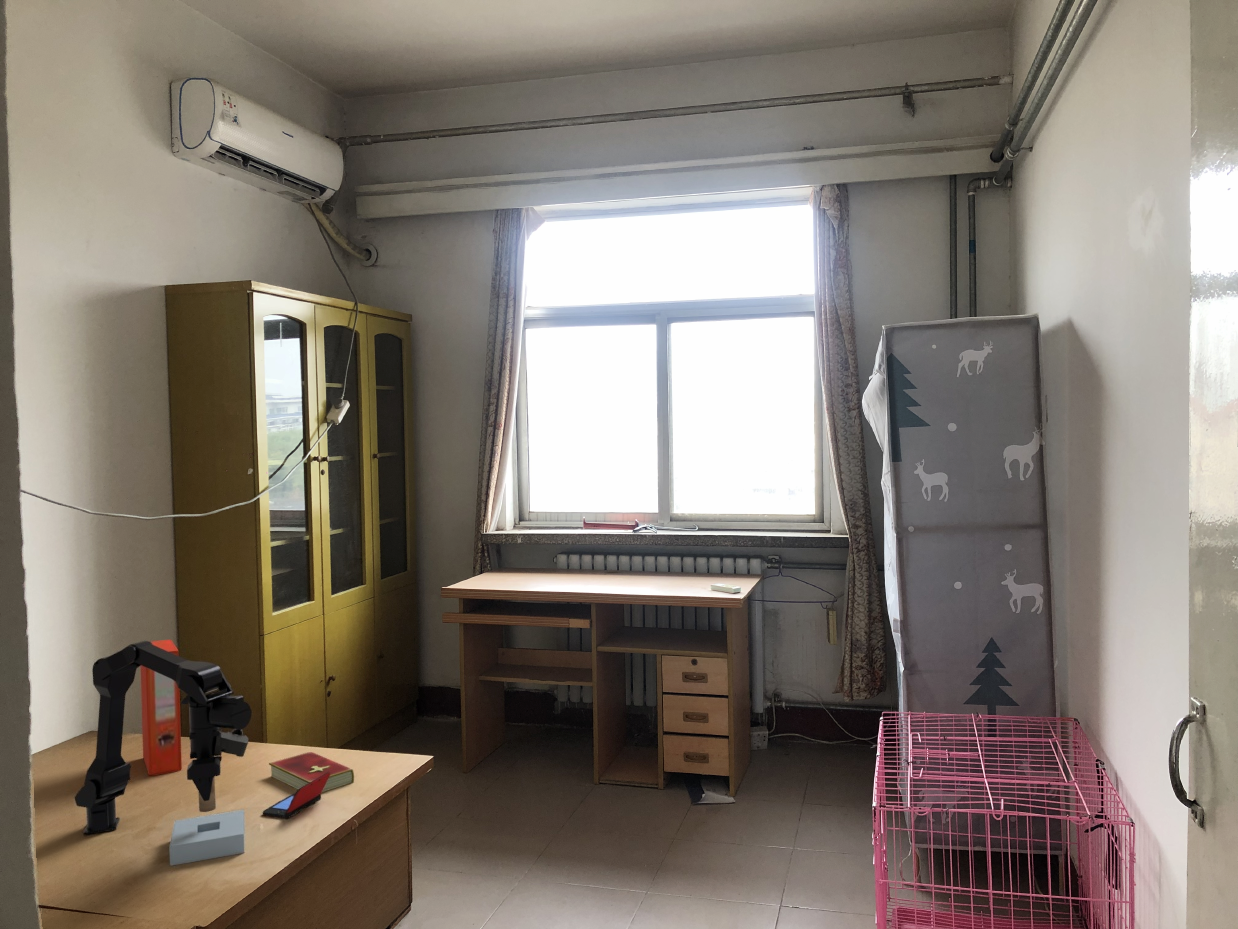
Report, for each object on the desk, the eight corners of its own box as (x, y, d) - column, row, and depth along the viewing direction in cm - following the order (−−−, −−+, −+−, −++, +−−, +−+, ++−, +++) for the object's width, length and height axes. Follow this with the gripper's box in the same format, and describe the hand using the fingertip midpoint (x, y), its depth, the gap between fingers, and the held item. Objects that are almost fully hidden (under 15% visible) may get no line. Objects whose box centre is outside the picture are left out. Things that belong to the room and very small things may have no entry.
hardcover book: (312, 765, 245) (311, 750, 245) (354, 784, 231) (353, 767, 231) (269, 778, 236) (268, 762, 236) (310, 798, 222) (309, 781, 222)
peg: (199, 807, 197) (198, 770, 196) (215, 805, 198) (214, 768, 197) (198, 813, 194) (197, 775, 193) (215, 810, 195) (214, 773, 195)
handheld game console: (296, 796, 223) (295, 766, 223) (333, 801, 219) (332, 770, 219) (260, 816, 211) (258, 785, 211) (298, 822, 208) (297, 789, 207)
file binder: (175, 752, 258) (170, 639, 257) (183, 770, 243) (178, 650, 242) (143, 758, 253) (138, 643, 253) (149, 776, 239) (144, 654, 238)
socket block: (175, 838, 200) (174, 820, 200) (244, 827, 205) (244, 809, 205) (170, 865, 187) (169, 846, 187) (244, 852, 192) (243, 833, 192)
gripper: (245, 732, 189) (247, 807, 190) (245, 708, 207) (247, 777, 207) (185, 740, 185) (188, 816, 186) (191, 715, 203) (193, 785, 203)
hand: (207, 797), depth 196 cm, fingers closed on peg, 3 cm apart
